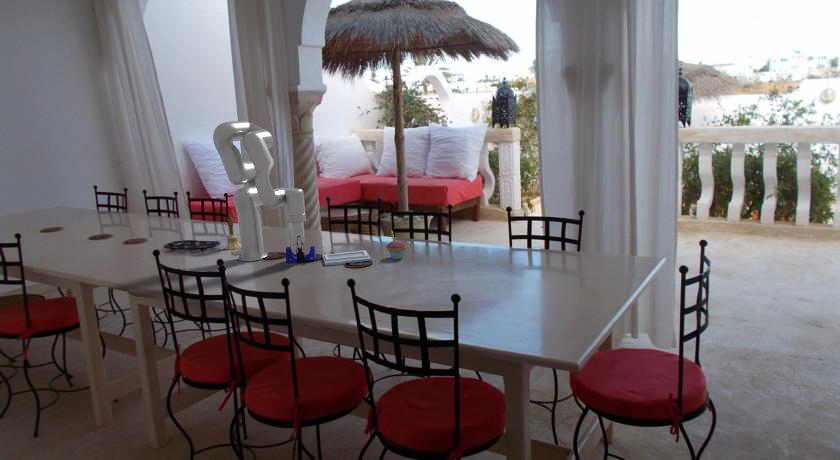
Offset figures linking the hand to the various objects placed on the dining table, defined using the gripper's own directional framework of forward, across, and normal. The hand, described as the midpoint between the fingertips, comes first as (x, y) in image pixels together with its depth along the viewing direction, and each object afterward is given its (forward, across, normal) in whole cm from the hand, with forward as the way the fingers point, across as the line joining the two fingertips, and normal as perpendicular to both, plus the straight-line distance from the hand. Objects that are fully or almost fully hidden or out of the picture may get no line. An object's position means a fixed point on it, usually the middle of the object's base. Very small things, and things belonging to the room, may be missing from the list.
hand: (300, 259), depth 274 cm
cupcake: (+1, +11, +40) cm, 41 cm away
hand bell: (+1, -40, -30) cm, 50 cm away
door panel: (+1, +5, +19) cm, 20 cm away
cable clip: (+1, 0, 0) cm, 1 cm away
